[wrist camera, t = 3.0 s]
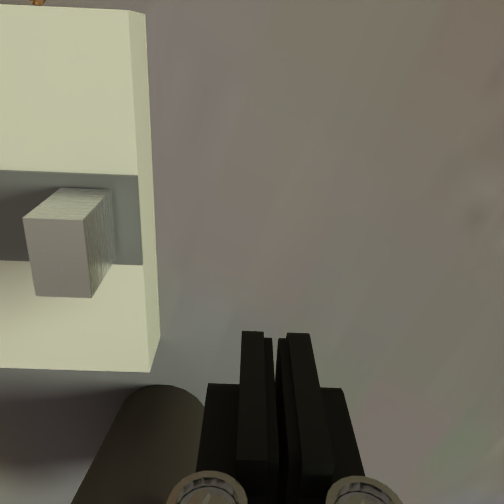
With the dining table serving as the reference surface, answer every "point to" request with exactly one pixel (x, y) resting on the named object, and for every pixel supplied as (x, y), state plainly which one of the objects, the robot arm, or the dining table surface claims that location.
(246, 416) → the robot arm
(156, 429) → the coffee cup
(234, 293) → the dining table surface
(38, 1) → the sunglasses case
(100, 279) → the gray brushed brick
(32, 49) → the switch panel
